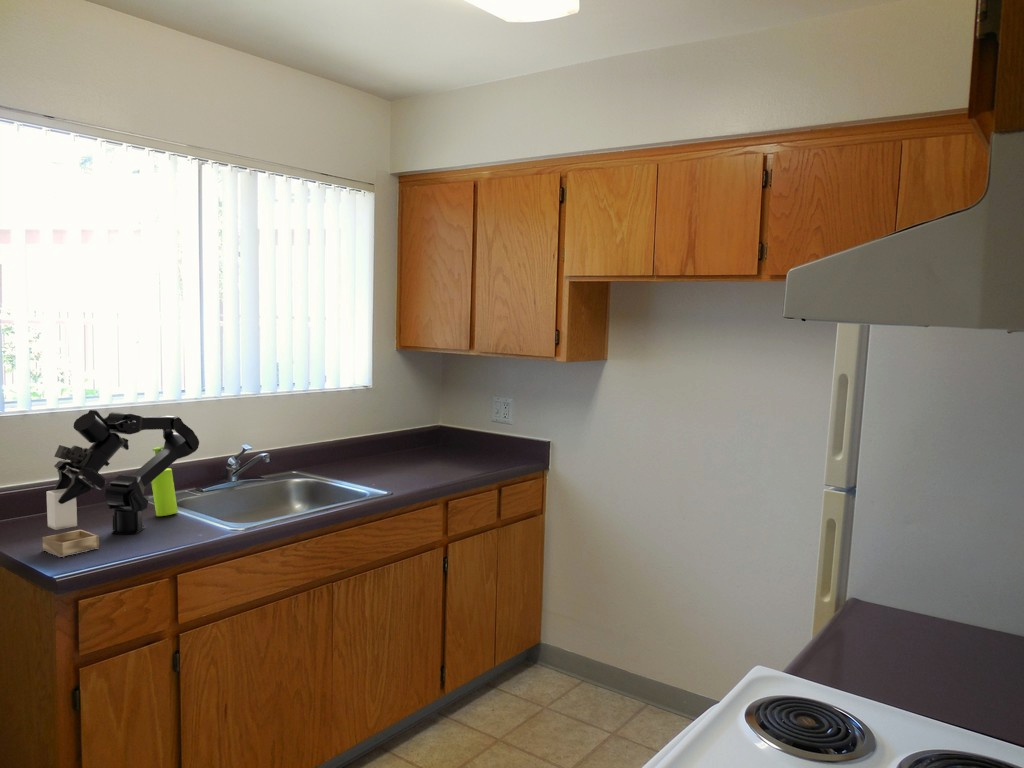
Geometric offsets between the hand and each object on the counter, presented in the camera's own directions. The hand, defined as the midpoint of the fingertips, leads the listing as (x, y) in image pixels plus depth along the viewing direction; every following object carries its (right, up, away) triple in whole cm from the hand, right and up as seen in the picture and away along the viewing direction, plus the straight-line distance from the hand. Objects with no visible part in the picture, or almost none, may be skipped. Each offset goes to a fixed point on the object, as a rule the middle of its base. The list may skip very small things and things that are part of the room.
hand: (55, 501), depth 190 cm
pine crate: (+4, -12, 0) cm, 13 cm away
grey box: (+1, -7, +2) cm, 7 cm away
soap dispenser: (+12, -9, +35) cm, 38 cm away
